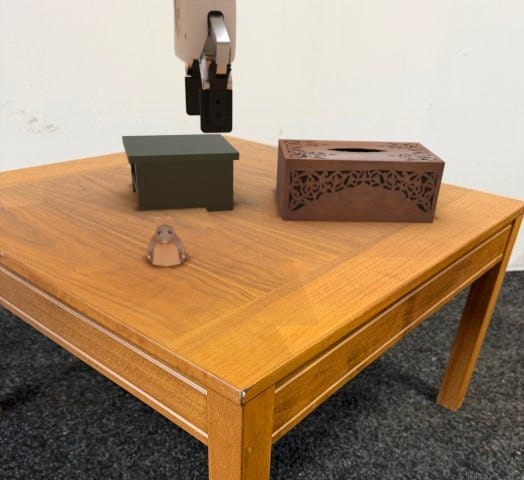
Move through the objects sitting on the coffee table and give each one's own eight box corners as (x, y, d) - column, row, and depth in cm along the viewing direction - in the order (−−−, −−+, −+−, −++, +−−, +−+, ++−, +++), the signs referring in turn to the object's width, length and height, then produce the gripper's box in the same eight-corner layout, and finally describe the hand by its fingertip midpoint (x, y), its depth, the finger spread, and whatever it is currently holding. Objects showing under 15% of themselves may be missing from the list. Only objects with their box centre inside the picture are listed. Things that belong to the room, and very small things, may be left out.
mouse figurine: (186, 248, 80) (184, 203, 76) (186, 272, 73) (184, 223, 70) (150, 249, 79) (146, 203, 76) (146, 272, 73) (142, 223, 69)
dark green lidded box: (133, 215, 91) (128, 156, 86) (127, 189, 103) (121, 135, 98) (238, 209, 96) (239, 152, 91) (220, 185, 108) (220, 133, 103)
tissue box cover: (282, 220, 92) (285, 158, 86) (275, 194, 104) (278, 139, 98) (432, 222, 93) (445, 162, 88) (409, 196, 106) (418, 142, 100)
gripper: (153, -70, 57) (163, 109, 66) (175, -90, 43) (185, 141, 52) (224, -65, 58) (225, 109, 68) (268, -83, 44) (261, 139, 54)
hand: (207, 123), depth 60 cm, fingers open, 9 cm apart
